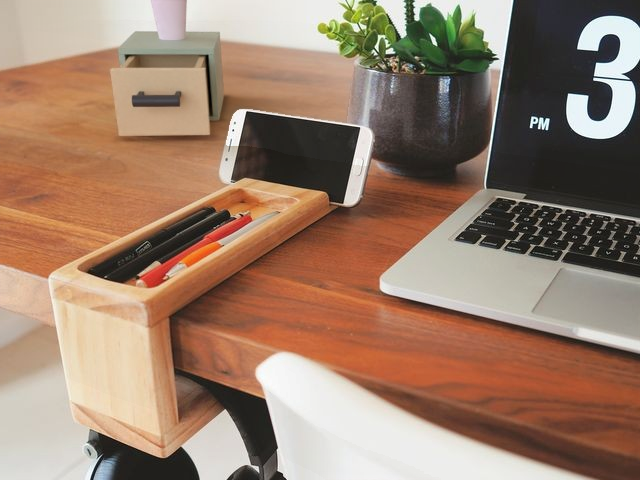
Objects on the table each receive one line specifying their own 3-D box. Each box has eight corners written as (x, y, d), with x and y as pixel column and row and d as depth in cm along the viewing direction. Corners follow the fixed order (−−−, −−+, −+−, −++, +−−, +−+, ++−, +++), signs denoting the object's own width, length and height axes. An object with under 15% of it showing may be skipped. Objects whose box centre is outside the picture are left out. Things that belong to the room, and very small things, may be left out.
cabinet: (219, 122, 102) (213, 48, 97) (127, 123, 100) (117, 48, 96) (224, 97, 115) (219, 31, 110) (142, 98, 113) (134, 31, 109)
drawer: (207, 145, 89) (202, 77, 85) (112, 146, 88) (102, 77, 84) (216, 108, 105) (211, 50, 101) (135, 109, 104) (128, 49, 100)
